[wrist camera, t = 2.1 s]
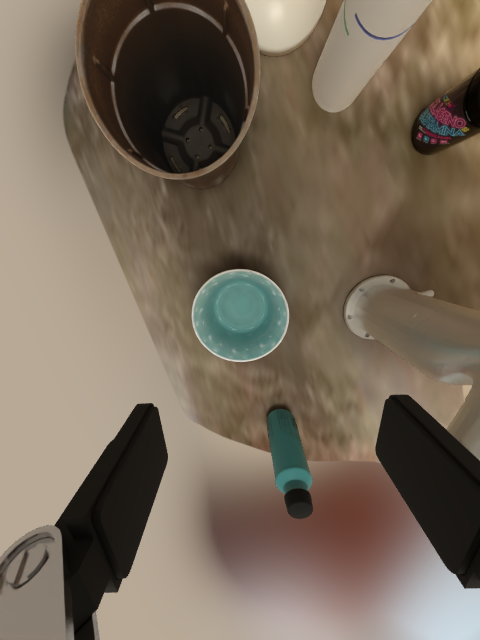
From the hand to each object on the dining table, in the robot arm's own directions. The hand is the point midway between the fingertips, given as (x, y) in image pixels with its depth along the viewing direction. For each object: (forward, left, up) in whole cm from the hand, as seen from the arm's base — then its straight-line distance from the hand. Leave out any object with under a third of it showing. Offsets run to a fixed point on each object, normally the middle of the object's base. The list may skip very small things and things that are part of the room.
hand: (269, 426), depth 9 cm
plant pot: (+1, -23, -35) cm, 41 cm away
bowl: (+3, +4, -35) cm, 35 cm away
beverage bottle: (+2, +32, -35) cm, 47 cm away
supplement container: (-33, -14, -35) cm, 50 cm away
